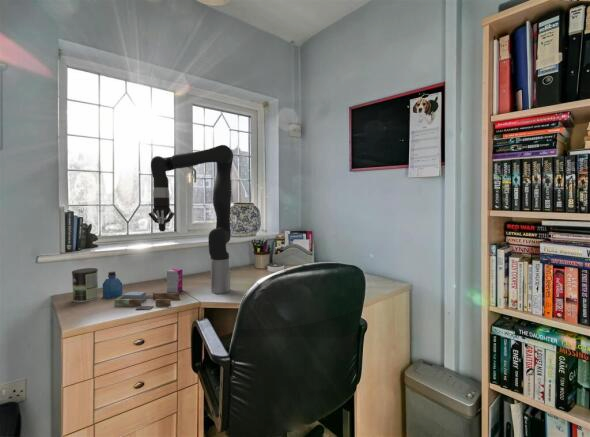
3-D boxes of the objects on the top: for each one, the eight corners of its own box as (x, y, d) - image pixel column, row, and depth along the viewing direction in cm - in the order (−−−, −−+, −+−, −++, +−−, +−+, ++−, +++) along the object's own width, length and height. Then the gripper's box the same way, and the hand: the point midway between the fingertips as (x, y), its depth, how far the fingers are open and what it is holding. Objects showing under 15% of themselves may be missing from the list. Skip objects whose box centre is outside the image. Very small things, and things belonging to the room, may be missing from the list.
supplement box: (176, 293, 158) (176, 271, 157) (166, 292, 159) (165, 270, 158) (183, 290, 163) (182, 268, 163) (173, 289, 164) (172, 268, 164)
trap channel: (183, 296, 153) (183, 290, 153) (165, 310, 133) (165, 303, 133) (133, 295, 153) (133, 290, 153) (108, 309, 133) (108, 303, 133)
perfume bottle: (109, 298, 149) (108, 274, 149) (103, 296, 153) (102, 272, 152) (122, 295, 155) (121, 271, 154) (115, 293, 158) (114, 270, 157)
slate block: (145, 300, 147) (145, 292, 147) (140, 303, 142) (139, 295, 142) (129, 299, 148) (129, 291, 148) (123, 303, 143) (123, 294, 143)
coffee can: (72, 303, 142) (71, 273, 141) (72, 298, 150) (71, 269, 149) (99, 299, 148) (98, 270, 147) (97, 294, 156) (96, 267, 155)
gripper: (177, 197, 158) (178, 230, 159) (151, 197, 158) (152, 230, 159) (171, 196, 151) (172, 232, 152) (144, 196, 151) (145, 232, 152)
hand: (162, 231), depth 155 cm, fingers closed
